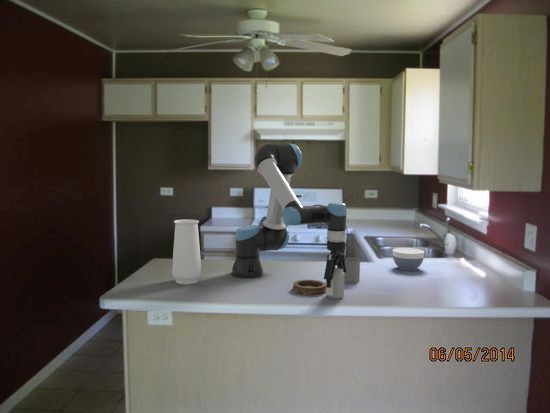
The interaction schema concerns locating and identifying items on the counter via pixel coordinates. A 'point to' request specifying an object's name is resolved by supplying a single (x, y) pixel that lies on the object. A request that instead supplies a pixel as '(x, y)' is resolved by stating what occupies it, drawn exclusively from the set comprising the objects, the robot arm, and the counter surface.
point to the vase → (186, 252)
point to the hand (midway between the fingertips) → (334, 291)
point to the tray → (309, 287)
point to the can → (337, 284)
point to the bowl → (408, 258)
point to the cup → (352, 270)
